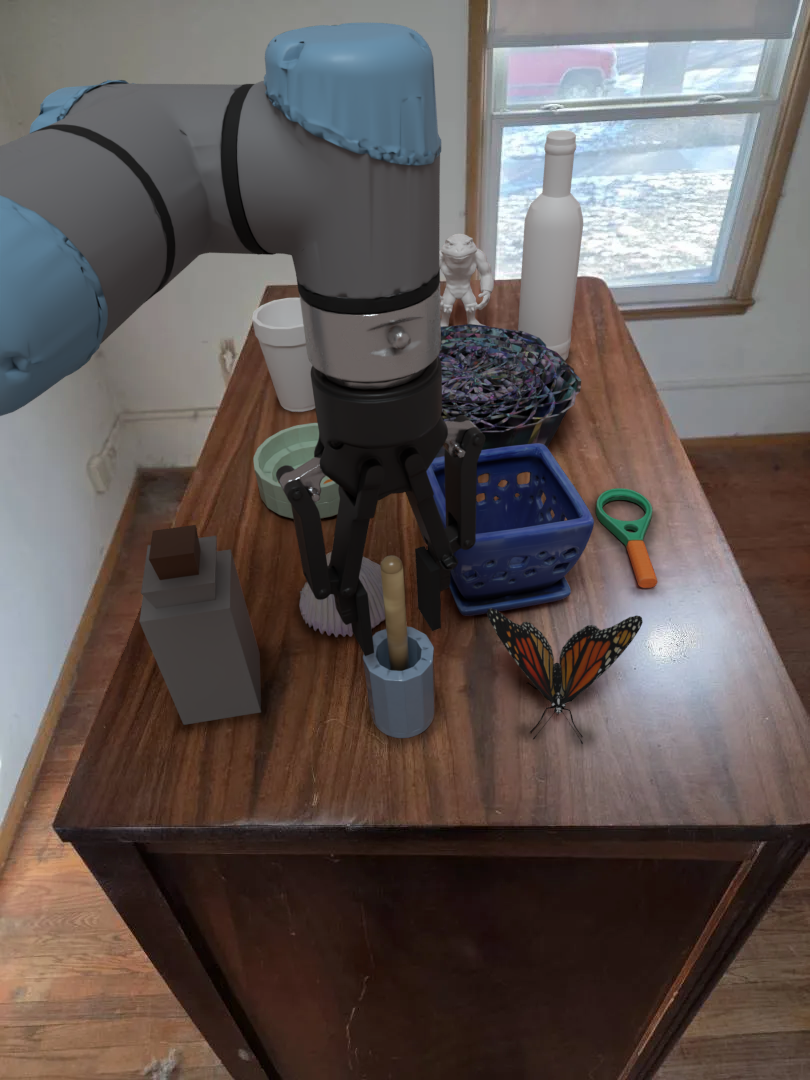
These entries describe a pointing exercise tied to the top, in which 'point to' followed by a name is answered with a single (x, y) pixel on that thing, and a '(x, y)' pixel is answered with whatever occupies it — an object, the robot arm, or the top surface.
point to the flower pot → (517, 531)
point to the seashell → (325, 610)
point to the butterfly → (564, 656)
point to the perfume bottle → (199, 626)
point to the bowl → (293, 451)
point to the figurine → (463, 276)
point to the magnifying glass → (630, 540)
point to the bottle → (552, 250)
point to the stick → (395, 612)
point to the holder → (401, 686)
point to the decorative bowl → (504, 384)
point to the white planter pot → (285, 352)
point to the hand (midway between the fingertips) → (396, 629)
